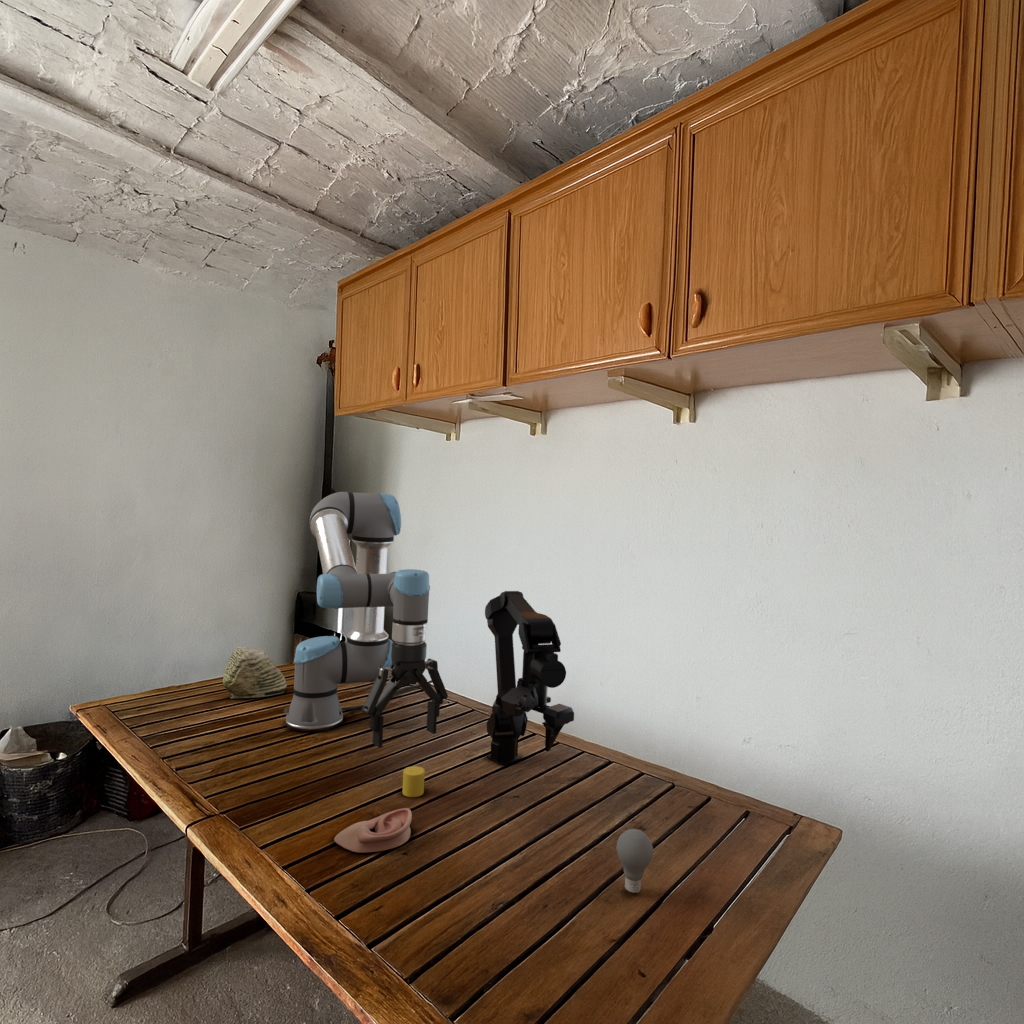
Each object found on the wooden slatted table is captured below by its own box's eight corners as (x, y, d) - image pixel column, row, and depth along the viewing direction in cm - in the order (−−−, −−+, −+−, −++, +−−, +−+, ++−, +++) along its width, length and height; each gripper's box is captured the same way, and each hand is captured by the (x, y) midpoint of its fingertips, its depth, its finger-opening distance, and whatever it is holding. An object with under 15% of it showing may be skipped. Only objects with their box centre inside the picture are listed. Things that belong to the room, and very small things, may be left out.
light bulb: (610, 879, 108) (613, 822, 108) (644, 879, 109) (647, 822, 109) (619, 902, 102) (622, 840, 102) (655, 901, 103) (658, 840, 103)
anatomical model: (326, 826, 114) (355, 797, 125) (325, 847, 114) (354, 817, 126) (396, 837, 112) (418, 806, 123) (395, 859, 112) (417, 827, 123)
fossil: (218, 695, 195) (220, 647, 195) (278, 685, 208) (279, 640, 207) (228, 703, 189) (230, 653, 188) (289, 692, 201) (290, 645, 201)
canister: (399, 790, 138) (399, 768, 138) (418, 785, 141) (419, 764, 141) (407, 799, 134) (408, 776, 134) (427, 794, 137) (428, 772, 137)
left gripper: (365, 652, 126) (361, 757, 127) (465, 638, 143) (461, 731, 143) (348, 644, 132) (344, 745, 132) (446, 632, 148) (442, 721, 149)
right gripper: (479, 671, 140) (476, 740, 141) (542, 691, 127) (539, 768, 128) (514, 663, 148) (511, 729, 149) (577, 681, 135) (573, 754, 136)
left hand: (405, 738), depth 138 cm, fingers open, 13 cm apart
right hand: (532, 744), depth 140 cm, fingers open, 9 cm apart
